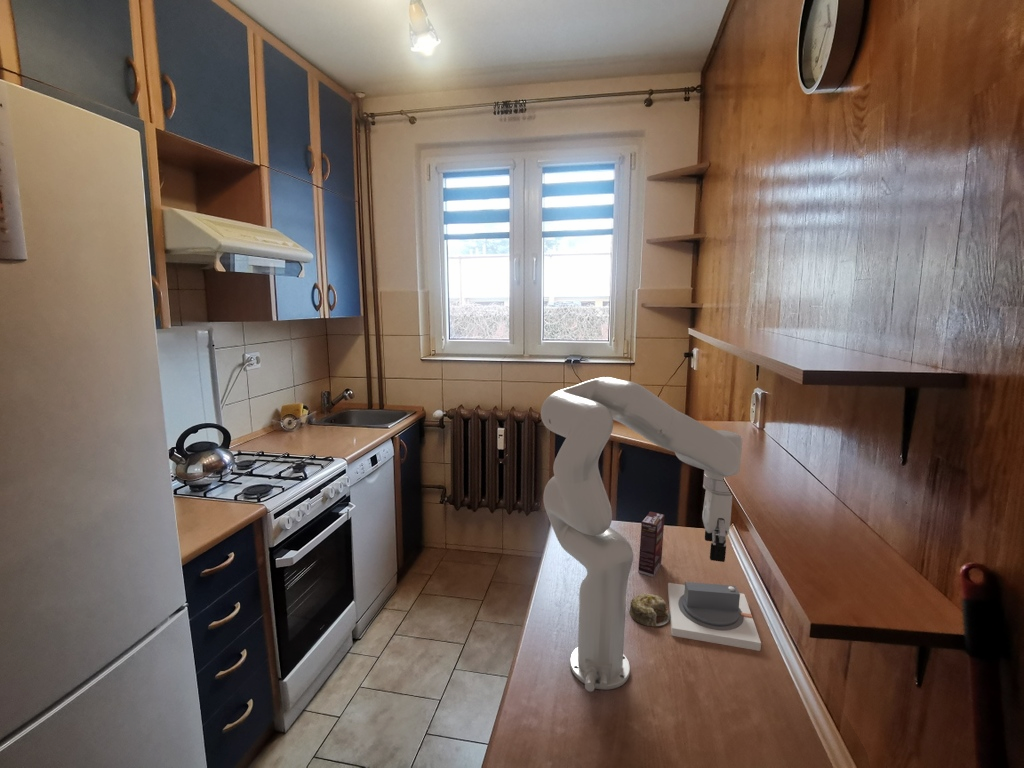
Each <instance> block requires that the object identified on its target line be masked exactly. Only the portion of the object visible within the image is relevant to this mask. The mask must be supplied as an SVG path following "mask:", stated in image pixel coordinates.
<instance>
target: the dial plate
mask: <svg viewBox="0 0 1024 768" xmlns="http://www.w3.org/2000/svg"><path fill="white" fill-rule="evenodd" d="M684 591H685V584H680V583H673V582H668V583H667V594H668V595H667V596H668V607H669V615H670V620H669V622H670V633H671V636H673V637H677V638H684V639H689V640H695V641H701V642H707V643H713V644H719V645H724V646H730V647H733V648H734V647H735V648H741V649H747V650H753V651H757V652H758V651H759V652H761V647H762V642H761V638H760V635H759V633H758V629H757V627H756V624H755V621H754V619H753V615H752V611H751V610H750V606H749V603H748V601H747V598H746V595H745V593H740V592H739V593H740V600H739V611H740V613H739V619H738V621H737V622H736V623H735V624H733V625H730V626H713V625H708V624H705V623H702V622H700V621H698V620H696V619H694V618H693V617H691V616H690V615H689V614H688V613H687V612H686V611H685V609H684V607H683V596H684Z"/></svg>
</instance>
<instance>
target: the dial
mask: <svg viewBox="0 0 1024 768" xmlns="http://www.w3.org/2000/svg"><path fill="white" fill-rule="evenodd" d="M684 585H685V591H684V596H683V607H684V609H685V611H686V612H687V613H688V614H689V615H690V616H691V617H693V618H694V619H696V620H698V621H700V622H702V623H705V624H708V625H713V626H730V625H733V624H735V623H736V622H737V621H738V619H739V613H740V611H739V600H740V591H739V589H738V588H737V586H736V585H731V584H730V585H728V584H716V583H704V582H694V581H693V582H691V581H684Z"/></svg>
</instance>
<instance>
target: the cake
mask: <svg viewBox="0 0 1024 768" xmlns="http://www.w3.org/2000/svg"><path fill="white" fill-rule="evenodd" d="M628 612H629V616H630V617H631V619H632V620H634V621H635V622H637V623H638V624H640V625H644V626H647V627H661V626H664V625H666V624H668V622H670V612H668V607H667V602H665V600H664V598H662V596H660V595H657V594H656V595H655V594H650V593H642V594H638V595H636V596H634V597H633V599H631V601H630V608H629V611H628ZM658 616H664V619H663V620H662V621H661V622H658V623H657V617H658Z"/></svg>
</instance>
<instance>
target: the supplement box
mask: <svg viewBox="0 0 1024 768" xmlns="http://www.w3.org/2000/svg"><path fill="white" fill-rule="evenodd" d="M640 525H641V529H640V543H639V555H638V556H639V557H638V570H637V573H639V574H640V575H645V576H648V577H652V578H654V577H655V575H656V574H657V572H658V570H659V568H660V567H661V565H662V557H663V546H664V545H663V544H664V530H665V529H664V527H665V514H662V513H659V512H654V511H649V512H648V514H647V515H646V517H645V518H644V519H643V520H642V521H641V524H640Z"/></svg>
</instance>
